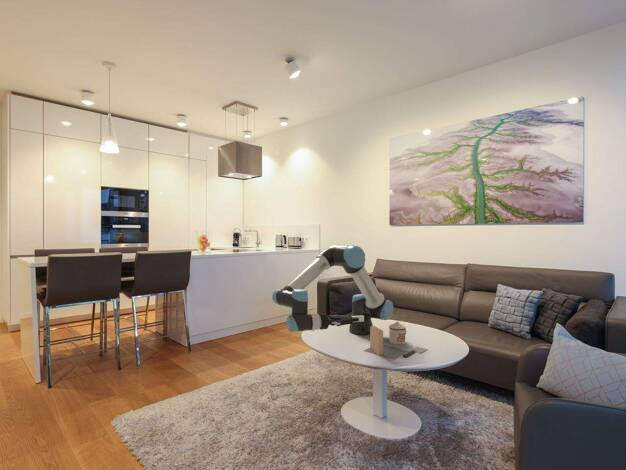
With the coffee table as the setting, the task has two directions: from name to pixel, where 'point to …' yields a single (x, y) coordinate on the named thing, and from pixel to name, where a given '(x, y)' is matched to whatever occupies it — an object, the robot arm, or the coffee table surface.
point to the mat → (390, 352)
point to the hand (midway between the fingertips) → (363, 318)
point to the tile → (376, 340)
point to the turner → (416, 349)
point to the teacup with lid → (397, 333)
